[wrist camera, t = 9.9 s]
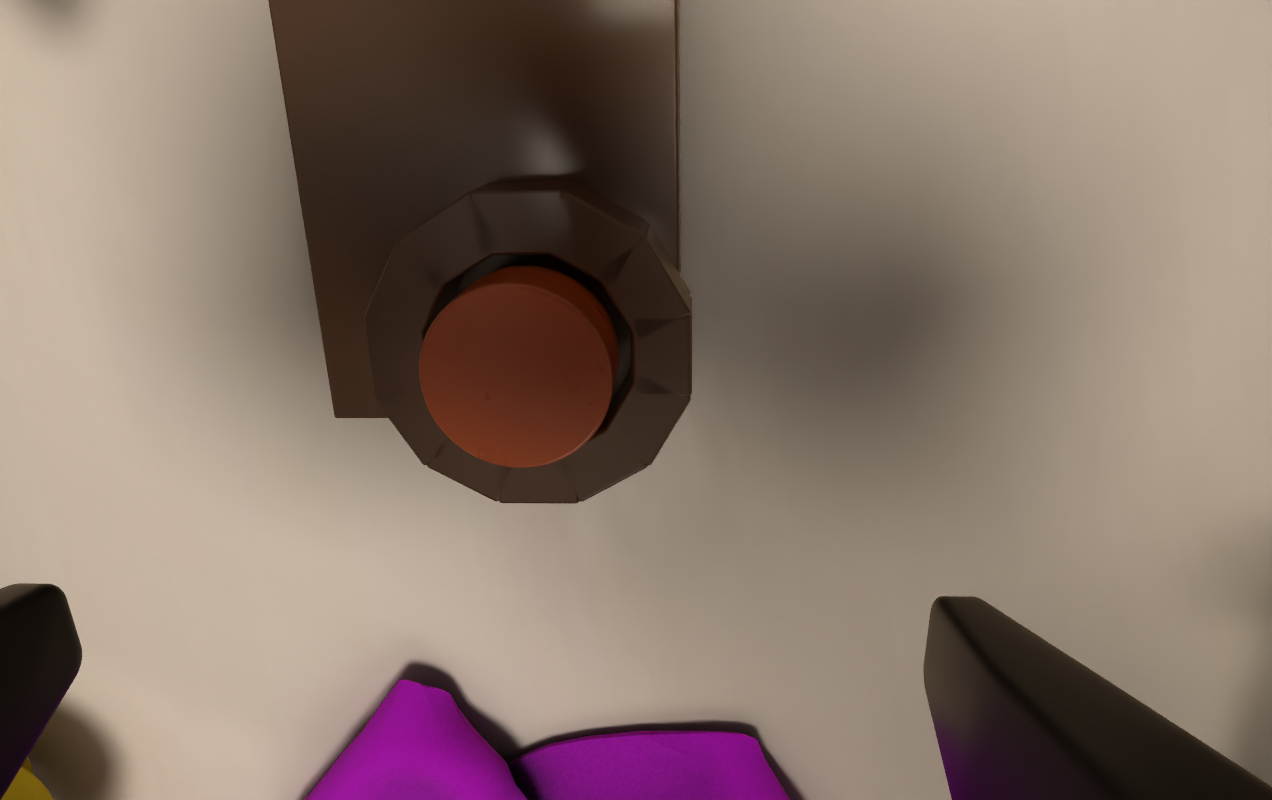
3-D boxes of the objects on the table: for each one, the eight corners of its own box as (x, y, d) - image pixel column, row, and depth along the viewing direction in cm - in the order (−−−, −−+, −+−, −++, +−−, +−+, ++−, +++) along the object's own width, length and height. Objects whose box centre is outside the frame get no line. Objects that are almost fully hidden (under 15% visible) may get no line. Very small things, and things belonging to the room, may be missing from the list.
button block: (691, 432, 21) (691, 505, 18) (374, 432, 22) (309, 503, 18) (690, -15, 18) (690, -43, 14) (312, -2, 18) (214, -26, 15)
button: (622, 434, 17) (615, 469, 16) (453, 434, 18) (428, 469, 16) (616, 262, 16) (608, 281, 15) (434, 265, 16) (406, 284, 15)
